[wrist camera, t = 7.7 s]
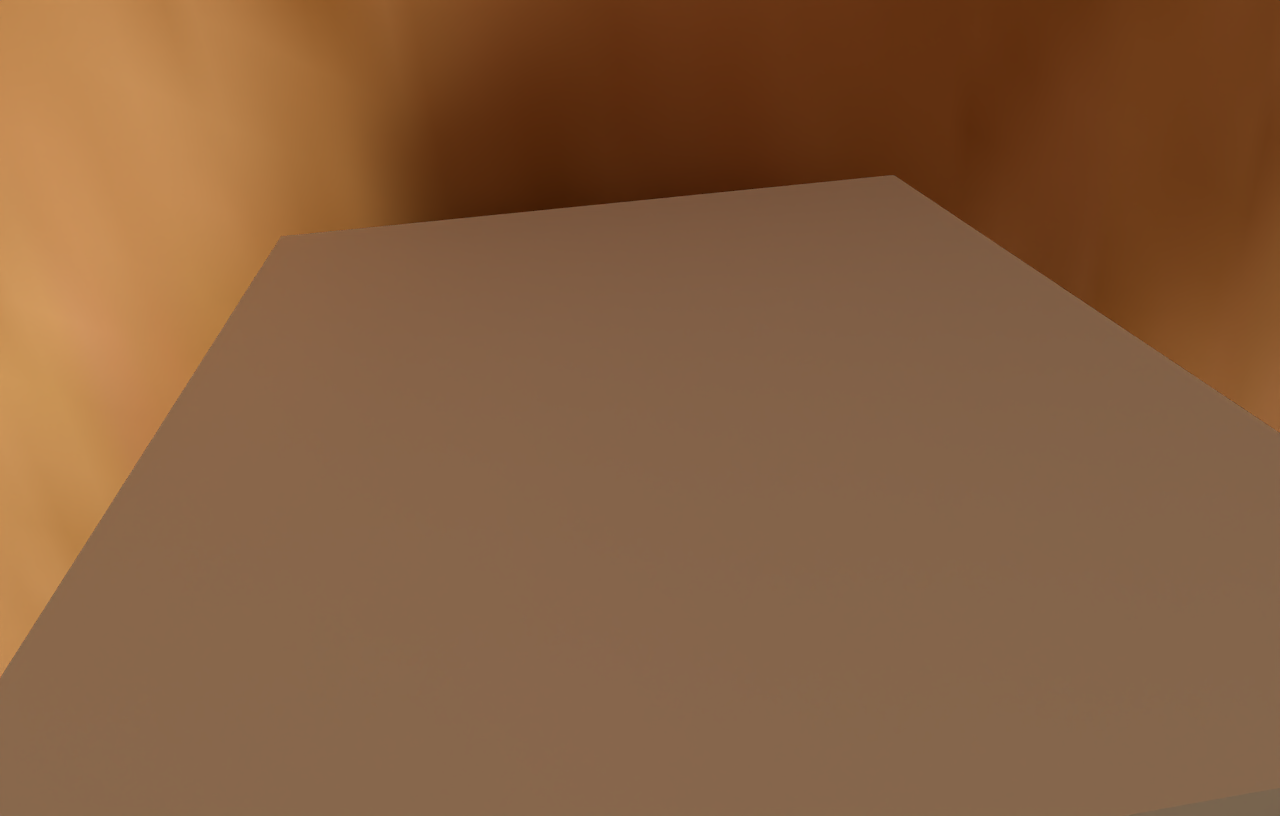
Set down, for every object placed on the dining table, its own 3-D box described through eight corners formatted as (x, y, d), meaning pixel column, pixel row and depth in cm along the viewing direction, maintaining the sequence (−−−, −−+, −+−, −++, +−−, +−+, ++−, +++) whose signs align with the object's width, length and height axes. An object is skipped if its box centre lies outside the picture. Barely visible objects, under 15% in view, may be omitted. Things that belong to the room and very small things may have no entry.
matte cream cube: (854, 618, 15) (1213, 1321, 8) (403, 685, 14) (307, 1540, 7) (893, 174, 11) (1699, 712, 4) (281, 236, 11) (-244, 1059, 3)
